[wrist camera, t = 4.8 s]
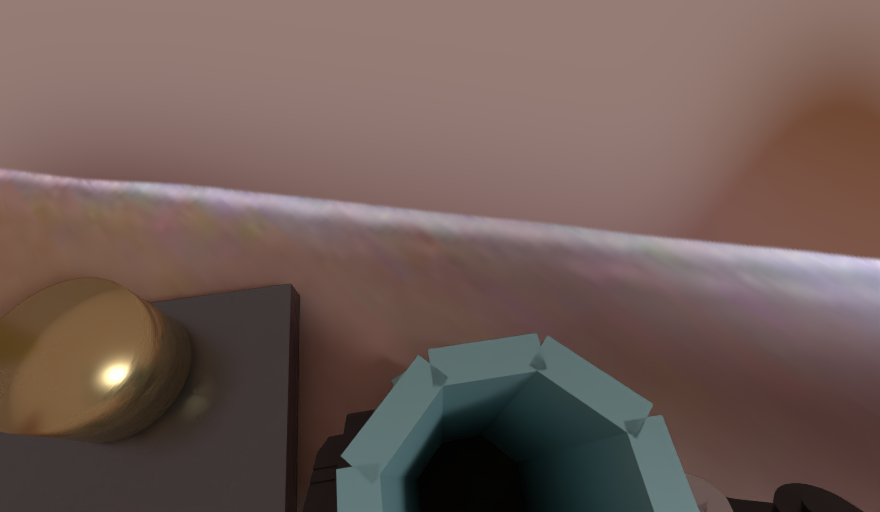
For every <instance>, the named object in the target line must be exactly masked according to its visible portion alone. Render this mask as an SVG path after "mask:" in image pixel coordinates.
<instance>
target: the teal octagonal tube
mask: <svg viewBox="0 0 880 512" xmlns="http://www.w3.org/2000/svg"><path fill="white" fill-rule="evenodd" d="M428 356H429V362H427V361H426V360H425V359H423V358H422V357H421V356H419V355H418V356H417V357H416V358H415V360H414V361H413V362H412V364H411V365H410V366H409V368H408V369H407V370H406V371H405V372H404V373H402V374H400V375H399V376H397V377H395V378H393V379H392V380H391V382H392V384H393V386H394V387H393V388H392V390H391V391H390V392H389V394H388V395H387V396H386V398H385V399H384V400H383V401H382V403H381V404H380V405H379V407H378V408H377V409H376V411H375V412H374V413H373V414H372V416H371V417H370V418H369V420H368V421H367V422H366V424H365V425H364V426H363V427H362V429H361V430H360V431H359V433H358V434H357V435H356V437H355V438H354V439H353V440H352V442H351V443H350V444H349V446H348V447H347V448H346V450H345V451H344V452H343V454H342V455H341V457H342V458H343V459H345V460H346V461H347V462H348V463H349V464H350V465H351V466H352V467H347V468H341V469H336V478H337V512H421V508H420V499H419V490H418V481H417V479H418V477H419V476H420V474H421V473H422V471H423V470H424V468H425V467H426V465H427V464H428V462H429V461H430V459H431V458H432V456H433V455H434V453H435V452H436V450H437V449H438V448H439V446H440V445H441V443H442V442H444V441H450V440H457V439H463V438H469V437H475V436H481V435H483V436H484V437H485V438H486V439H488V440H489V441H490V442H492V443H493V444H494V445H495V446H497V447H498V448H499V449H501V450H502V451H503V452H505V453H506V454H507V455H508V456H510V457H511V458H512V459H514V460H515V461H516V462H517V465H518V470H519V474H520V479H521V483H522V488H523V493H524V497H525V502H526V507H527V512H700V511H699V509H698V506H697V504H696V501H695V498H694V496H693V493H692V491H691V488H690V486H689V483H688V480H687V478H686V475H685V473H684V470H683V468H682V465H681V462H680V460H679V457H678V455H677V452H676V450H675V447H674V444H673V442H672V439H671V437H670V434H669V432H668V429H667V426H666V424H665V421H664V419H663V416H662V415H657V416H651V417H648V415H649V413H650V410H651V408H652V406H653V404H652V403H651V402H649V401H648V400H646V399H645V398H643V397H642V396H640V395H639V394H637V393H636V392H634V391H632V390H631V389H629V388H628V387H626V386H625V385H623V384H622V383H620V382H619V381H617V380H616V379H614V378H613V377H611V376H609V375H608V374H606V373H605V372H603V371H602V370H600V369H599V368H597V367H596V366H594V365H593V364H591V363H589V362H588V361H586V360H585V359H583V358H582V357H580V356H579V355H577V354H576V353H574V352H573V351H571V350H570V349H568V348H566V347H565V346H563V345H562V344H560V343H559V342H557V341H556V340H554V339H553V338H551V337H550V336H547V337H546V338H545V340H544V341H543V343H542V344H541V345H540V342H539V338H538V335H537V333H533V334H526V335H519V336H512V337H506V338H499V339H492V340H486V341H479V342H472V343H466V344H459V345H452V346H446V347H439V348H432V349H428Z"/></svg>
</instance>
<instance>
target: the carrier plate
mask: <svg viewBox="0 0 880 512" xmlns="http://www.w3.org/2000/svg"><path fill="white" fill-rule="evenodd" d="M299 309H300V295H299V294H298V292H297V291H296V290H295V288H294V287H293V286H292V285H291V284H285V285H277V286H270V287H263V288H255V289H248V290H241V291H233V292H226V293H218V294H211V295H204V296H196V297H189V298H182V299H174V300H167V301H160V302H152V303H149V302H147V301H145V300H144V299H142V298H140V297H139V296H137V295H135V294H134V293H132V292H131V291H129V290H127V289H126V288H124V287H122V286H121V285H119V284H117V283H115V282H112V281H109V280H106V279H100V278H78V279H73V280H68V281H64V282H61V283H58V284H55V285H52V286H50V287H47V288H45V289H43V290H41V291H39V292H37V293H35V294H34V295H32V296H30V297H29V298H27V299H25V300H24V301H23V302H21V303H20V304H18V305H17V306H16V307H15V308H13V309H12V310H11V311H10V312H8V313H7V314H6V315H5V316H4V317H3V318H2V319H1V320H0V512H297V445H298V377H299Z"/></svg>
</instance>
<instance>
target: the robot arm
mask: <svg viewBox="0 0 880 512" xmlns="http://www.w3.org/2000/svg"><path fill="white" fill-rule="evenodd" d="M374 412H375V410H370V411H364V412H358V413H351V414H348V415H347V417H346V423H345V428H344V434H343V435H337V436H331V437H329V438H328V439H327V440H326V442H325V443H324V444H323V446H322V447H321V448H320V450H319V451H318V453H317V457H316V461H315V465H314V469H313V470H314V472H313V473H312V477H311V481H310V487H309V489H308V493H307V497H306V501H305V505H304V509H303V512H337V478H336V469H341V468H347V467H352V466H351V465H350V464H349V463H348V462H347V461H346V460H345V459H343V458H342V457H341V455H342V454H343V452H344V451H345V450H346V448H347V447H348V446H349V444H350V443H351V442H352V440H353V439H354V438H355V437H356V435H357V434H358V433H359V431H360V430H361V429H362V427H363V426H364V425H365V424H366V422H367V421H368V420H369V418H370V417H371V416H372V414H373V413H374ZM685 475H686V478H687V480H688V483H689V486H690V488H691V491H692V493H693V496H694V498H695V501H696V504H697V506H698V509H699V511H700V512H863V511H862V510H860V509H859V508H857V507H855V506H854V505H852V504H851V503H849V502H848V501H846V500H844V499H843V498H841V497H839V496H837V495H835V494H833V493H831V492H829V491H827V490H824V489H822V488H818V487H815V486H812V485H807V484H800V483H791V484H785V485H782V486H780V487H779V488H778V489H777V490H776V491H775V494H774V499H773V503H768V502H758V501H749V500H740V499H733V498H727V497H725V496H724V494H723V493H722V492H721V491H720V490H719V489H718V488H716V487H715V486H714V485H712V484H711V483H709V482H708V481H706V480H704V479H702V478H700V477H697V476H695V475H692V474H688V473H685Z"/></svg>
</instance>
